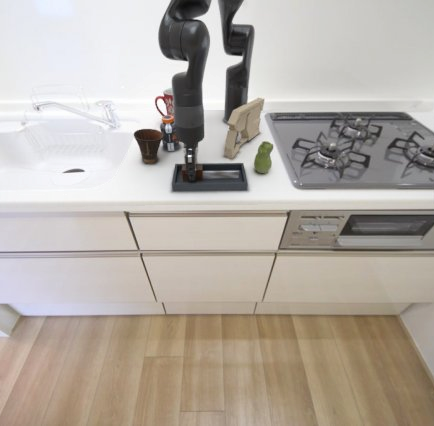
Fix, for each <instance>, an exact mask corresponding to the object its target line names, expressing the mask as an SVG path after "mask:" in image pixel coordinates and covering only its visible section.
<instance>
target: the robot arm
mask: <svg viewBox="0 0 434 426" xmlns="http://www.w3.org/2000/svg"><path fill="white" fill-rule="evenodd" d="M244 1H245V0H217V5H218V11H219V12H218V13H219V18H220V27H221V28H220V29H221V40H222V48H223V49H222V50H223V51H224V54H225V55H227V56H231V57H242V59H241V61H239V62H237V63H235V64H233V65H230V66H228V67H226V70H225V88H224V110H223V111H224V112H223V122H224V123H226V124H227V123H228V121H229V118H230V116H231V114H232V112H233V110H235V109H237V108H239V107H240V106H242V105H244V104H245V105H246V104H247V103H248V100H249V96H248V95H249V87H250V77H251V67H252V57H253V52H254V44H255V37H256V36H255V35H256V32H255V27H254V25H253V24H249V23H247V24H244V23H233V20H234V18H235V16H236V14H237V13H238V11H239V10H240V8H241V7H242V5H243V4H244ZM211 5H212V0H170V1H169V4H168V5H167V7H166V9H165V11H164V13H163V16H162V18H161V20H160V23H159V27H158V32H157V43H158V47H159V50H160V52H161V54H162V55H163V57H165V58H166V59H167V60H172V61H176V62H177V61H178V62H187V70H186V71H180V72H177V73H175V74H174V75H172V78H171V88H172V93H173V102H174V122H175V131H176V138H177V140H178V141H179V143H181V144H183V148H182V149H183V154H184V156H183V158H184V164H186V174H188V182H196V165H197V164H198V153H199V143H200V142H202V141H203V140H204V139H205V110H204V109H205V108H204V101H203V98H204V97H203V81H204V75H205V70H206V66H207V65H206V64H207V60H208V57H209V53H210V48H211V35H210V31H209V28H208V27H207V24H206V23H205V22H204V21H202V20H201V19H197V18H200V17H203V16H205V15H206V14H208V12H209V10H210V8H211Z"/></svg>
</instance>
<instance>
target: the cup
mask: <svg viewBox="0 0 434 426" xmlns="http://www.w3.org/2000/svg"><path fill="white" fill-rule="evenodd" d="M133 137H134V139H135V141H136V143H137V145H138V148H139V151H140V155H141V161H142V162H143V163H145V164H155V163H157V161H158V154H159V149H160V146H161V143H162V138H163V134H162V133H161V130H160V131H159V130H158V129H153V128H141V129H137V130H135V131H134V133H133Z"/></svg>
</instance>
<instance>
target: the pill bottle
mask: <svg viewBox="0 0 434 426" xmlns="http://www.w3.org/2000/svg"><path fill="white" fill-rule="evenodd" d="M159 128H160V132H161V133H162V134H163V138H162V140H161V143H162V148H163V150H164V151H167V152H175V151H177V150H179V149H180V141H178V140H177V138H176V131H175V122H174V117H173V116H171V115H167V114H166V115H165V116H162V117H161V123H160V124H159Z"/></svg>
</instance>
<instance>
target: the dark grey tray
mask: <svg viewBox="0 0 434 426" xmlns="http://www.w3.org/2000/svg"><path fill="white" fill-rule="evenodd" d="M182 165H186V164H185V163H175V164H174V168H173V176H172V181H171V188H172V192H214V191H215V192H217V191H218V192H219V191H221V192H223V191H224V192H226V191H229V192H230V191H231V192H232V191H247V190H248V185H249V184H248V183H249V182H248V179H247V173H246V169H245V165H244V162H226V163H225V162H219V163H217V162H216V163H215V162H213V163H211V162H210V163H205V162H204V163H197V165H202V169H203V171H239V178H214V179H203V181H196V182H188V181H183V178H182Z"/></svg>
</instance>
